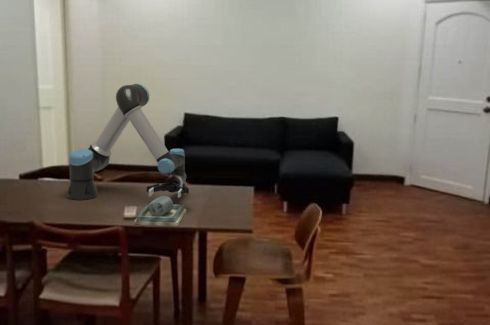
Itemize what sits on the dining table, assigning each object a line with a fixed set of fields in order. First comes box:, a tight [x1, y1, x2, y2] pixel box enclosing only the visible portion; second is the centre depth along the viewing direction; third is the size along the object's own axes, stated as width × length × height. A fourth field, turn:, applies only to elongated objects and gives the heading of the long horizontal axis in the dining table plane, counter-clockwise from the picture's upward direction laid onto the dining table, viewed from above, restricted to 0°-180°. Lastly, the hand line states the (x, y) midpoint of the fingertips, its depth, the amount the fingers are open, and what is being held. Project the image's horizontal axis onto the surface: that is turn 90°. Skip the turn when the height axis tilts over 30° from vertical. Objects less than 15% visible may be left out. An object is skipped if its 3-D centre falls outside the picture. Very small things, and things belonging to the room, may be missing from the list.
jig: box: [133, 203, 187, 227], centre depth 248 cm, size 19×22×4 cm
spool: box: [148, 195, 174, 217], centre depth 247 cm, size 14×10×10 cm
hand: (164, 194), depth 252 cm, fingers open, 13 cm apart
